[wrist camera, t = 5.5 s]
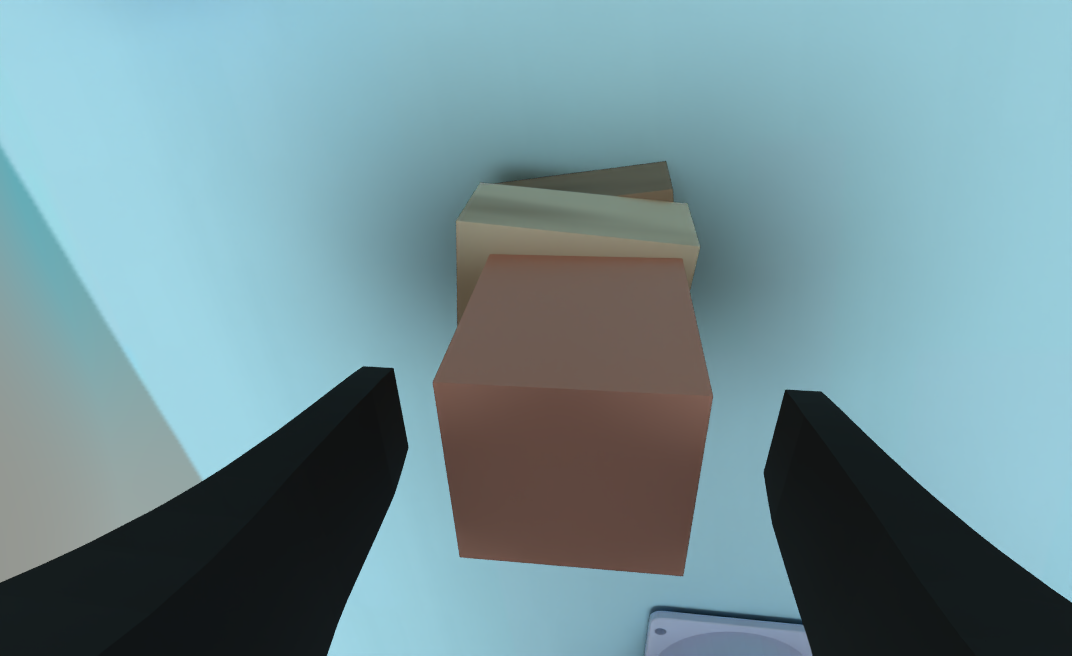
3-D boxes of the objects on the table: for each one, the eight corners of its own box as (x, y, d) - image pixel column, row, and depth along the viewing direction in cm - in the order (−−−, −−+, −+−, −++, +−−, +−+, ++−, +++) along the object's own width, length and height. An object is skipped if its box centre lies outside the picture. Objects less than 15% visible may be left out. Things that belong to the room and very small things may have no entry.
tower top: (651, 372, 16) (656, 431, 14) (477, 351, 17) (458, 406, 15) (687, 203, 14) (700, 246, 12) (480, 182, 14) (456, 220, 12)
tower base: (673, 315, 18) (681, 362, 16) (519, 328, 19) (507, 373, 17) (665, 158, 16) (672, 188, 14) (487, 182, 17) (469, 213, 15)
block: (665, 410, 14) (682, 576, 10) (501, 401, 14) (460, 557, 11) (682, 258, 12) (712, 395, 8) (489, 254, 12) (433, 382, 8)
